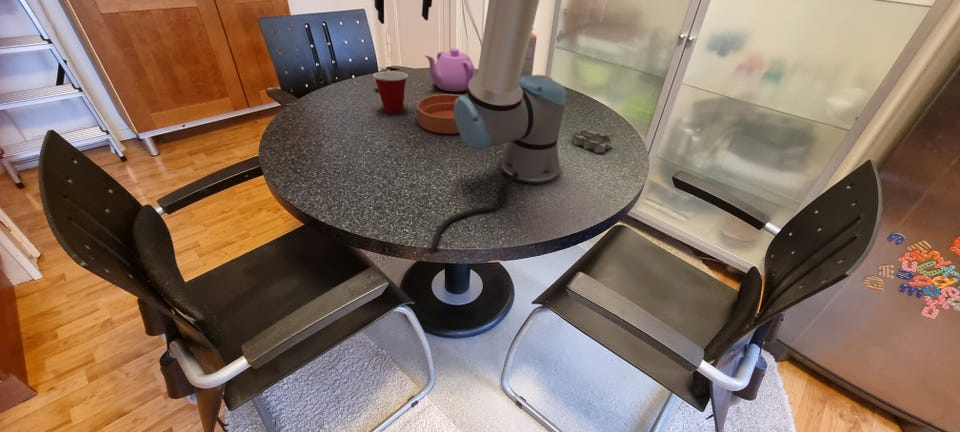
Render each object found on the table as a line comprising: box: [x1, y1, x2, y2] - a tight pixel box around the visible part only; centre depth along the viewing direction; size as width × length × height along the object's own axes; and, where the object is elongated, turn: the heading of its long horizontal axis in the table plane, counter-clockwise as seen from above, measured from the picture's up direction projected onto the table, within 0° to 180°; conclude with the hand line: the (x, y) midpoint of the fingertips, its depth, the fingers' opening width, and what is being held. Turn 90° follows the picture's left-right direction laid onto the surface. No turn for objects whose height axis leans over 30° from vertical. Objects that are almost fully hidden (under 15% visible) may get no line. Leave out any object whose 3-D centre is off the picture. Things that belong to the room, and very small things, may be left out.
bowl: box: [416, 93, 462, 135], centre depth 117 cm, size 19×19×6 cm
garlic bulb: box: [372, 68, 391, 91], centre depth 136 cm, size 7×6×8 cm
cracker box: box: [520, 32, 538, 77], centre depth 140 cm, size 14×6×21 cm, turn 10°
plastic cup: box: [372, 70, 409, 115], centre depth 121 cm, size 11×11×12 cm
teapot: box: [424, 48, 477, 93], centre depth 140 cm, size 22×22×14 cm
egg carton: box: [571, 128, 615, 154], centre depth 109 cm, size 11×8×4 cm
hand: (403, 19), depth 108 cm, fingers open, 13 cm apart
